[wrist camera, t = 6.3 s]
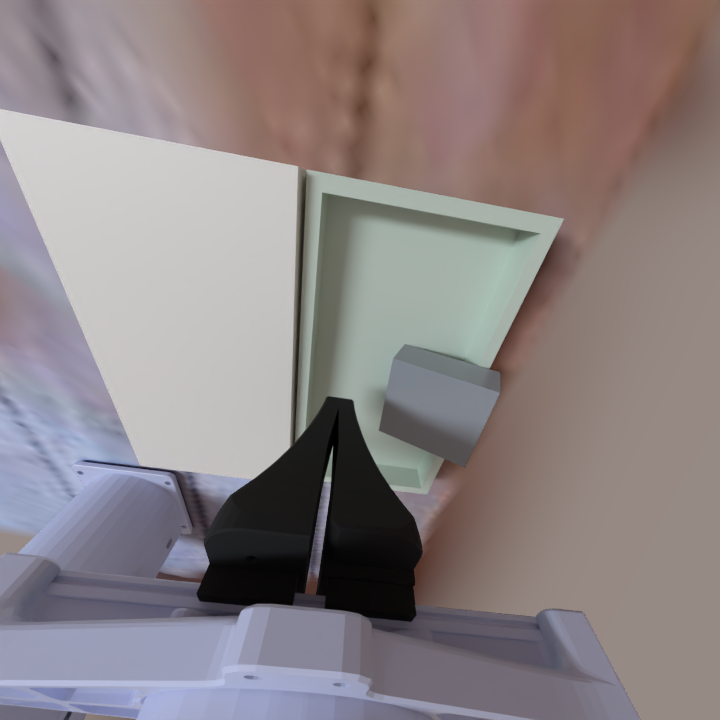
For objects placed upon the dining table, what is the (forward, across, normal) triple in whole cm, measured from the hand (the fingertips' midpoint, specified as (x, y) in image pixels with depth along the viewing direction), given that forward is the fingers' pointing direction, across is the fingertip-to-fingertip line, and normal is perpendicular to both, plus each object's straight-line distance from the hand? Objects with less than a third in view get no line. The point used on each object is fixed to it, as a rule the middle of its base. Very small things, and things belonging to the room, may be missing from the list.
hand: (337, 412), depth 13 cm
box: (+3, -2, -1) cm, 4 cm away
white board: (+3, +8, -1) cm, 8 cm away
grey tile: (0, -5, -1) cm, 5 cm away
